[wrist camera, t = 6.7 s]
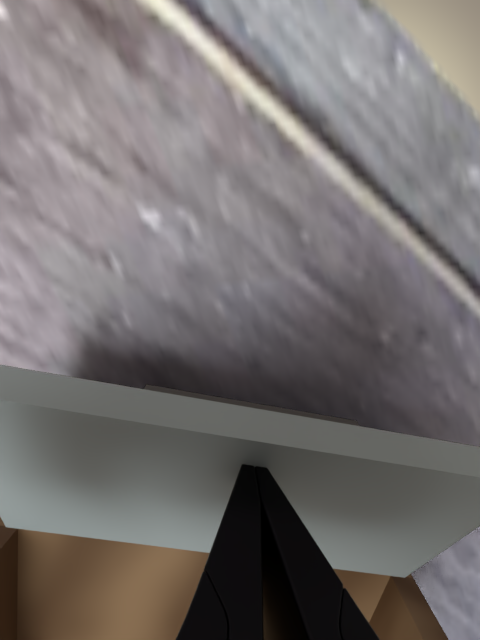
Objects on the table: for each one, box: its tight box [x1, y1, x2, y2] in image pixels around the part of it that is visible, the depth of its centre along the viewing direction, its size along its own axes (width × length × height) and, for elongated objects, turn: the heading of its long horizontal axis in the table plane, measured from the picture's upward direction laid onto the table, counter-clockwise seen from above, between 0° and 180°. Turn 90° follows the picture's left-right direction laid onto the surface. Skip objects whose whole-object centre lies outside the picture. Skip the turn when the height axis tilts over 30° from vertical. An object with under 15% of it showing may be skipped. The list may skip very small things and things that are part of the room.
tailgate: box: [0, 365, 480, 578], centre depth 10 cm, size 18×2×8 cm
